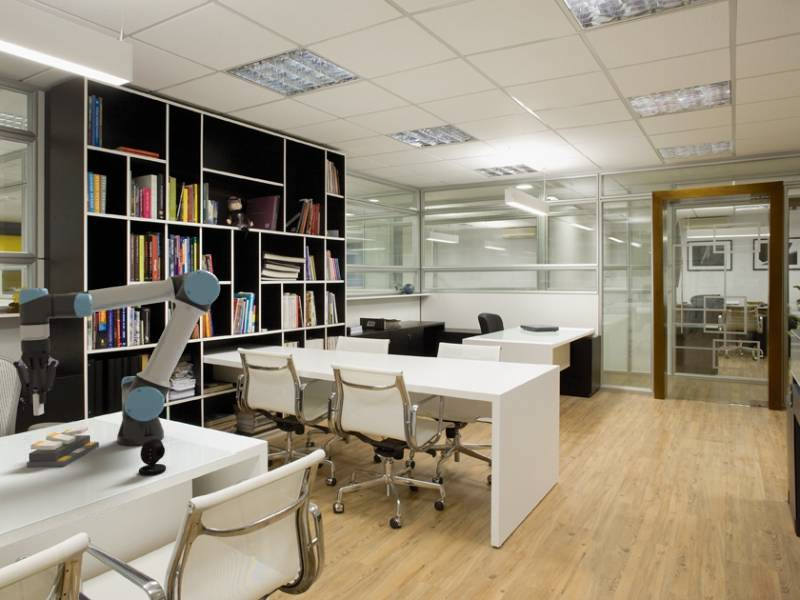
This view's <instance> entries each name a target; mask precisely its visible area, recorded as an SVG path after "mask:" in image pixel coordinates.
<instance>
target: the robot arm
mask: <svg viewBox="0 0 800 600" xmlns="http://www.w3.org/2000/svg"><path fill="white" fill-rule="evenodd" d="M220 291H221V285H220V281H219V279H218V278H217V276H216V275H215V274H213V273H212V272H210V271H208V270H206V269H205V270H204V269H196V270H191V271H188V272H185V273H182V274H178V275H173V276H168V278H166V279H164V280H163V279H162V280H158V281H149V282H143V283H135V284H128V285H127V284H126V285H122V286H120V285H119V286H111V287H106V288H105V287H104V288H99V289H92V290H86V291H85V290H84V291H77V292H68V293H60V294H58V293H57V294H52V293H51V294H50V292H49V290H48V289H47V288H44V287H43V288H42V287H41V288H22V289H20V290H19V292H18V309H19V310H18V311H19V313H18V314H19V331H20V338H21V339H22V340H20V350H21V352H22V354H21V356H20V358H19V359H18V360H17V361H14V362H12V365H13V366H14V368H15V369H16V371H17V372H16V373H17V375H18V378H19V381H20V385H21V388H22V391H23V393H28V394H29V396H30V404H31V405H32V406H33V407H32V409H33V416H40V415H43V414H45V409H44V408H45V407H44V405H45V404H46V402H47V395H46V394H47V392H49V391H52V390H53V387H54V382H55V377H56V372H57V367H58V366H59V364H60V363H61V362H60V361H61V360H60V359H55V358H54V357H52V354H51V339H50V338H49V337H50V319H65V318H66V319H68V318H69V319H70V318H80V319H81V318H86V317H87V318H89V317H91V316H92V315H93V313H96V312H102V311H103V312H104V311H110V310H118V309H123V308H130V307H131V308H132V307H137V306H143V305H149V304H150V305H151V304H156V303H163V302H172V303H173V304H175V308H174V309H173V311H172V313H171V316H170V317H169V320H168V322H167V324H166V326H165V328H164V330H163V332H162V334H161V336H160V337H159V339H158V342H157V343H156V346H155V347H154V350H153V352H152V354H151V355H150V357H149V360H148V361H147V363H146V366H145V367H144V370H142V371H140V372H137V373H136V375H134V376H133V375H132V376H131V375H130V376H124V377H123V378H122V379H121V383H120V384H121V385H120V386H121V408H122V410H121V411H122V414H121V415H122V419H121V423H120V426H119V430H118V433H117V436H116V438H117V439H116V440H117V441H116V442H117V444H119V445H121V446H122V445H123V446H143V444H144V443H145V442H146V441H147V440H149V439H151V438H157V439H160V440H161V441H162V440H163V439H164V437H165V431H164V428H163V425H162V422H161V420H160V416H159V415H161V413H162V412H163V410H164V408H165V405H166V404H165V400H166V397H167V395H168V393H169V391H170V389H171V387H172V386H171V383H170V379H171V377H172V375H173V373H174V370H175V368H176V366H177V365H178V362H179V361H180V358H181V357H182V354H183V352H184V350H185V348H186V346H187V344H188V342H189V340H190V338H191V336H192V334H193V332H194V330H195V327H196V326H197V324H198V321H199V319H200V318H201V317H202V316H204V315H206V314H207V313H208V312H209V310H210V308H211V305H212V304H213V302H214V301H216V300H217V299H218V297H219V295H220ZM47 365H48V368H47ZM46 370H47V372H46Z"/></svg>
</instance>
